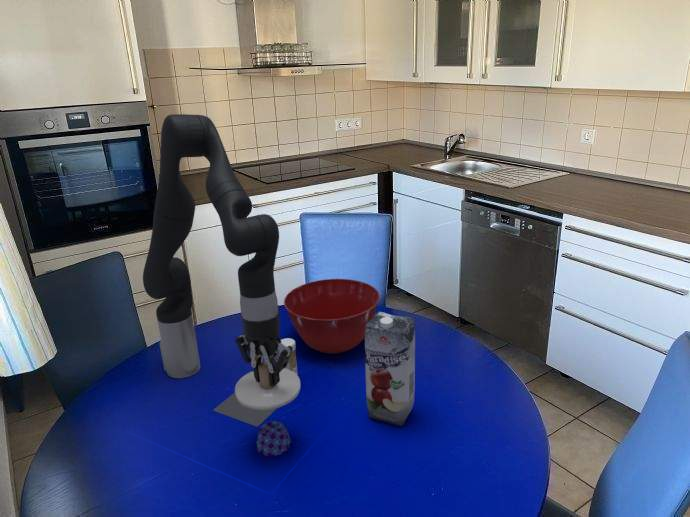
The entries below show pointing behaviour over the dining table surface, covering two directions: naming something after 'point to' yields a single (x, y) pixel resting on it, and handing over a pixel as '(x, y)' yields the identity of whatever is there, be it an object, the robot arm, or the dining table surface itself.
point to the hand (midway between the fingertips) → (267, 382)
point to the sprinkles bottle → (292, 360)
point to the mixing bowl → (332, 313)
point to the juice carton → (390, 367)
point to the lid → (267, 389)
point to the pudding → (273, 439)
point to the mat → (242, 411)
